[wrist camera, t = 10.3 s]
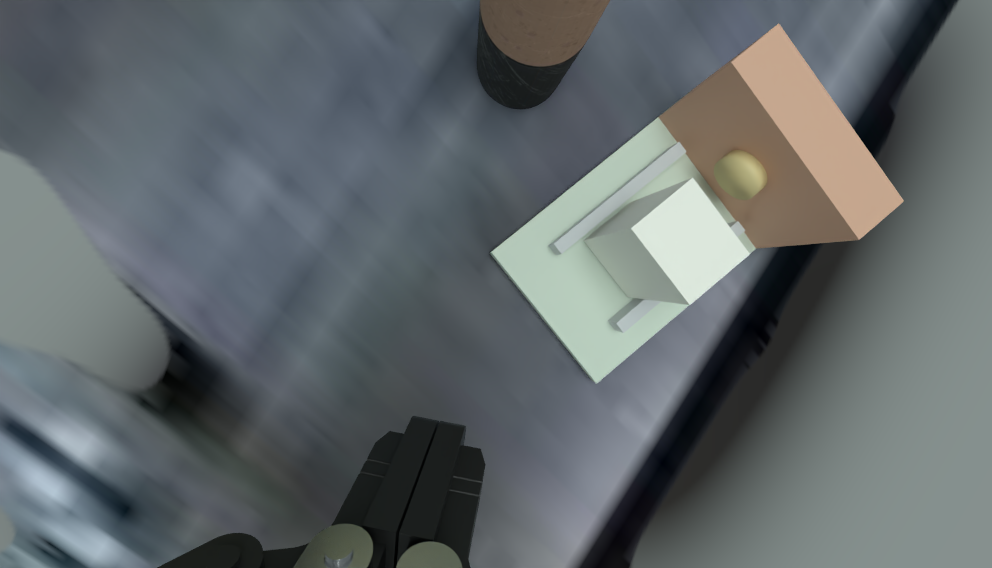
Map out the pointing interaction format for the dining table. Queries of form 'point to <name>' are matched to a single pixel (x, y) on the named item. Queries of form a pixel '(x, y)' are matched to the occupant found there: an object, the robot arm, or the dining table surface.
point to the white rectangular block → (668, 245)
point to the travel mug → (531, 45)
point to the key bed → (723, 178)
